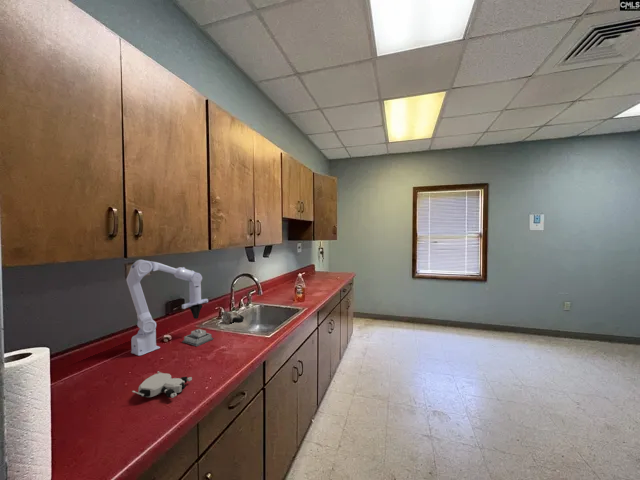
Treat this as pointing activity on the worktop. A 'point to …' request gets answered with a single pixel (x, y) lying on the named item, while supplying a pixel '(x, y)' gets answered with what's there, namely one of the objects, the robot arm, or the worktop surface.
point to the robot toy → (162, 385)
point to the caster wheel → (232, 317)
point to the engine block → (198, 334)
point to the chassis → (197, 340)
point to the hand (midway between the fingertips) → (195, 318)
